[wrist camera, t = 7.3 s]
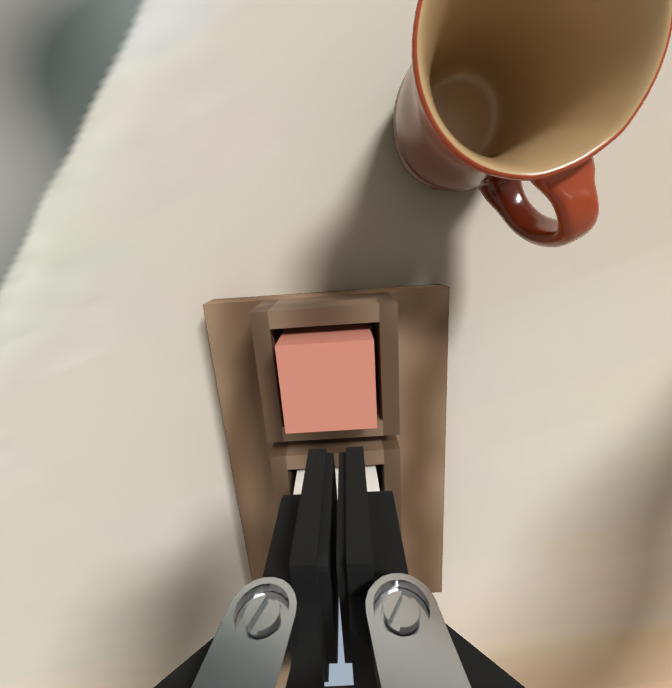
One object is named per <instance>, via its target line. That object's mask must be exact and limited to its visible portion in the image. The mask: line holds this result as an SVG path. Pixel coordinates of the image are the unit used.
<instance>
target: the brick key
mask: <svg viewBox="0 0 672 688" xmlns="http://www.w3.org/2000/svg"><path fill="white" fill-rule="evenodd" d="M275 352H276V360H277V368H278V376H279V384H280V392H281V400H282V408H283V416H284V425H285V433H286V434H289V433H306V432H322V431H338V430H355V429H371V428H377V407H376V380H375V354H374V339H373V336H372V333H371V331H370V328H369V326H368V323H356V324H341V325H326V326H311V327H296V328H285V329H284V331H283V333H282V335H281V336H280V338H279V340H278V342H277V343H276V345H275Z"/></svg>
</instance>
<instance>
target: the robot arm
mask: <svg viewBox="0 0 672 688" xmlns="http://www.w3.org/2000/svg"><path fill="white" fill-rule="evenodd" d="M339 602H340V613H341V625H342V636H343V647H344V659H345V663H352V668H353V681H354V688H525V687H524V686H522V685H521V684H520V683H519V682H517V681H516V680H515V679H514V678H512V677H511V676H510V675H509V674H508V673H506V672H505V671H504V670H503V669H501V668H500V667H499V666H498V665H496V664H495V663H494V662H493V661H491V660H490V659H489V658H488V657H486V656H485V655H484V654H483V653H481V652H480V651H479V650H478V649H476V648H475V647H474V646H473V645H472V644H470V643H469V642H468V641H467V640H465V639H464V638H463V637H462V636H460V635H459V634H458V633H457V632H455V631H454V630H453V629H452V628H450V627H449V626H448V625H447V624H445V622H444V619H443V617H442V614H441V612H440V609H439V607H438V604H437V602H436V600H435V598H434V596H433V594H432V593H431V591H430V589H429V588H428V587H427V586H426V585H425V584H424V583H423V582H422V581H420V580H418V579H416V578H415V577H413V576H410V575H409V574H408V568H407V563H406V558H405V553H404V548H403V542H402V537H401V532H400V527H399V521H398V516H397V511H396V506H395V501H394V496H393V492H392V491H369V492H367V483H366V472H365V461H364V450H363V446H356V447H346V452H339V469H338V499H337V486H336V474H335V462H334V453H333V452H332V453H327V448H313V449H309V450H308V456H307V461H306V467H305V473H304V479H303V485H302V491H301V494H295V495H283V496H282V499H281V502H280V506H279V511H278V515H277V519H276V523H275V527H274V531H273V535H272V539H271V544H270V548H269V552H268V556H267V560H266V564H265V568H264V572H263V577H262V578H260V579H257V580H254V581H252V582H250V583H249V584H247V585H246V586H244V587H243V588H242V589H241V590H240V591H239V592H238V593H237V594H236V595H235V596H234V598H233V600H232V601H231V603H230V605H229V606H228V609H227V611H226V613H225V615H224V617H223V620H222V622H221V624H220V626H219V628H218V630H217V633H216V635H215V637H214V638H213V639H211V640H210V641H209V642H208V643H207V644H205V645H204V646H203V647H202V648H201V649H199V650H198V651H197V652H196V653H195V654H193V655H192V656H191V657H190V658H189V659H187V660H186V661H185V662H184V663H183V664H181V665H180V666H179V667H178V668H177V669H176V670H174V671H173V672H172V673H171V674H170V675H168V676H167V677H166V678H165V679H164V680H162V681H161V682H160V683H159V684H158V685H156V686H155V687H154V688H324V683H325V682H329V664H337V663H338V626H339Z"/></svg>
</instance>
